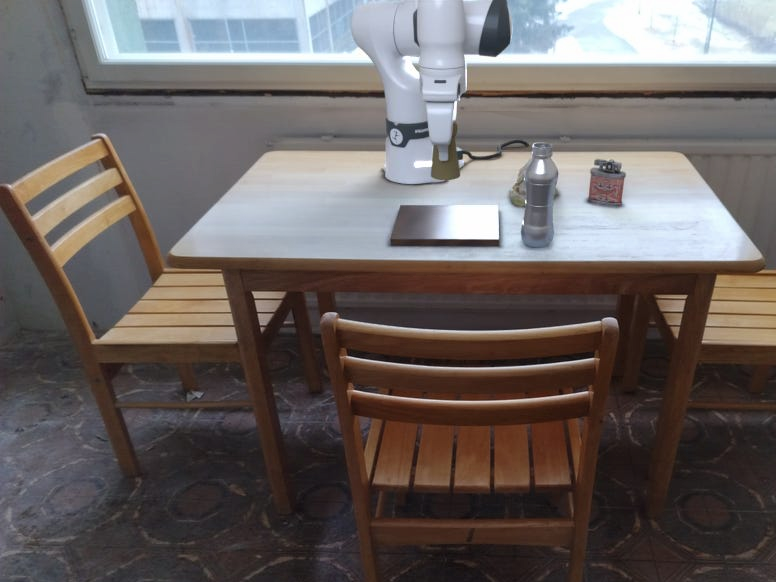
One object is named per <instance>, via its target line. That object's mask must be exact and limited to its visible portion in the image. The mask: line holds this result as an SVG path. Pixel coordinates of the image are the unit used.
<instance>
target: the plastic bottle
mask: <svg viewBox="0 0 776 582" xmlns="http://www.w3.org/2000/svg"><path fill="white" fill-rule="evenodd" d="M531 147H532V149H531V157H532V156H533V158H532V159H531V161H530V162H529V163H528V165H527V166H526V168H525V171H524V181H525V199H526V201H525V206H524V213H523V221H522V222H521V228H520V238H521V241H522V242H523V243H524V245H526V246H528V247H531V248H532V247H533V248H543V247H547V246H549V245H550V244H551V243H552V241H553V238H554V235H555V227H554V200H555V196H554V193H555V189H557V184H558V180H559V169H558V166H557V165H556V163H555V162H554V161H553V159H552V157H553V153H554V152H553V144H552V143H549V142H543V141H541V142H540V141H539V142H534V143H533V144H532V146H531Z"/></svg>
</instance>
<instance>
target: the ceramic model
mask: <svg viewBox="0 0 776 582" xmlns="http://www.w3.org/2000/svg"><path fill="white" fill-rule="evenodd" d="M532 158H533V156H532V155H531V157H530V158H529V159H528V161H527V162H526V163H525V164H524V166H522V167H520V169H519V170H518V174H517V175H518V176H517V178H516V182H515V183H514V184H513V186H512V187H511V189H510V200H511V202H512V203H513V204H514V205H515V206H521V207H525V201H526V199H525V181H524V171H525V168H526V166H527V165H528V163H529V162H530V161H531V159H532ZM558 193H559V190H558V188H556V189H555V193H554V197H555V196H556V195H558Z"/></svg>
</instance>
